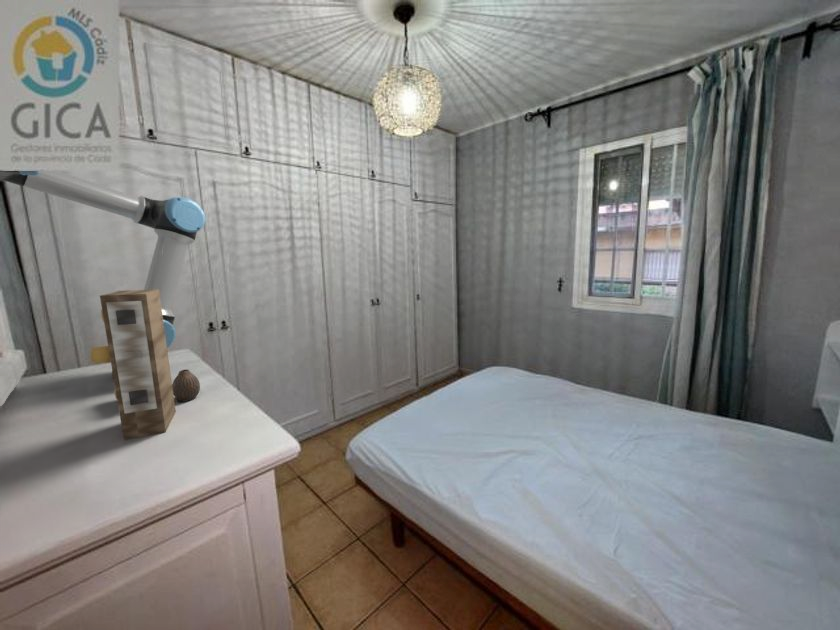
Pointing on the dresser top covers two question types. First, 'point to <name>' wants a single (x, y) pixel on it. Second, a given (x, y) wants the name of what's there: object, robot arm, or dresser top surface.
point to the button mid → (100, 355)
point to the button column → (139, 361)
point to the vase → (185, 386)
